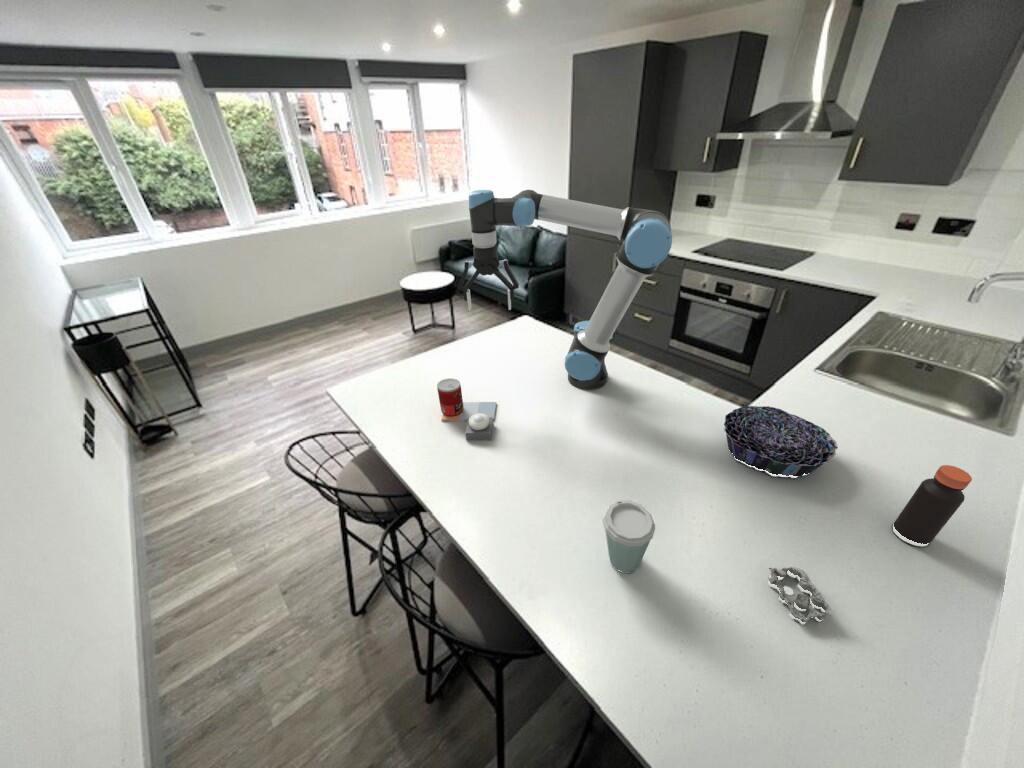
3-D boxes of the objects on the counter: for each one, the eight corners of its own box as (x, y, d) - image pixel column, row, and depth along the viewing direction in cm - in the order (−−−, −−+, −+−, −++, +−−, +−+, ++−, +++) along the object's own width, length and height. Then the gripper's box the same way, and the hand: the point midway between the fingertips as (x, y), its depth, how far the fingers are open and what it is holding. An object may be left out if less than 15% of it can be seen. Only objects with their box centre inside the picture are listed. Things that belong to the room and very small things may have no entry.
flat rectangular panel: (496, 403, 148) (496, 401, 148) (494, 420, 140) (493, 419, 139) (446, 404, 149) (446, 402, 149) (441, 421, 141) (441, 419, 140)
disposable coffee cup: (657, 575, 90) (667, 530, 82) (612, 589, 88) (619, 545, 80) (631, 536, 99) (639, 492, 91) (590, 548, 97) (594, 504, 89)
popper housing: (493, 424, 138) (492, 417, 136) (491, 440, 131) (490, 432, 130) (469, 424, 138) (468, 417, 137) (466, 440, 132) (465, 433, 130)
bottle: (883, 523, 99) (925, 461, 88) (913, 523, 98) (958, 461, 88) (905, 548, 93) (952, 485, 82) (937, 548, 93) (988, 485, 82)
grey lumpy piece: (761, 576, 89) (766, 565, 87) (795, 573, 90) (801, 562, 87) (792, 627, 80) (799, 616, 78) (830, 624, 81) (838, 612, 78)
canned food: (460, 418, 140) (456, 391, 134) (438, 416, 142) (433, 389, 136) (466, 405, 147) (463, 378, 141) (445, 403, 148) (441, 377, 142)
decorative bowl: (732, 421, 137) (737, 395, 132) (834, 449, 121) (844, 421, 116) (707, 464, 120) (711, 437, 116) (821, 504, 104) (832, 474, 99)
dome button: (490, 423, 137) (489, 410, 134) (488, 436, 131) (487, 422, 128) (471, 423, 137) (469, 410, 134) (468, 436, 132) (467, 422, 129)
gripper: (525, 240, 131) (526, 303, 142) (447, 243, 133) (455, 305, 144) (524, 246, 125) (526, 312, 136) (443, 249, 126) (451, 314, 138)
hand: (489, 308), depth 140 cm, fingers open, 13 cm apart
